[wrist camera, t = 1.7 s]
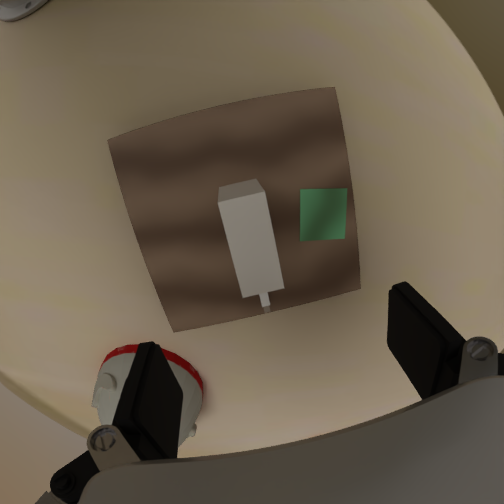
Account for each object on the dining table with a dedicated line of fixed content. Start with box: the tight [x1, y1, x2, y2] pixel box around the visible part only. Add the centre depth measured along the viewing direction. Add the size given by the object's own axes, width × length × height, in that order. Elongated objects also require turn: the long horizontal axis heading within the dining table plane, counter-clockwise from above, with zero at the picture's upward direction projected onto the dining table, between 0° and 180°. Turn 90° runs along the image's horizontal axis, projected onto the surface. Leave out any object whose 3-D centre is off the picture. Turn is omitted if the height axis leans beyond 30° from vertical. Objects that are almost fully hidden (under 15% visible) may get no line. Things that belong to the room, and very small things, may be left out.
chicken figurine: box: [92, 344, 203, 447], centre depth 29 cm, size 14×14×15 cm
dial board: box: [107, 87, 361, 332], centre depth 27 cm, size 20×20×2 cm
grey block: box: [218, 179, 284, 307], centre depth 24 cm, size 12×3×7 cm, turn 12°
